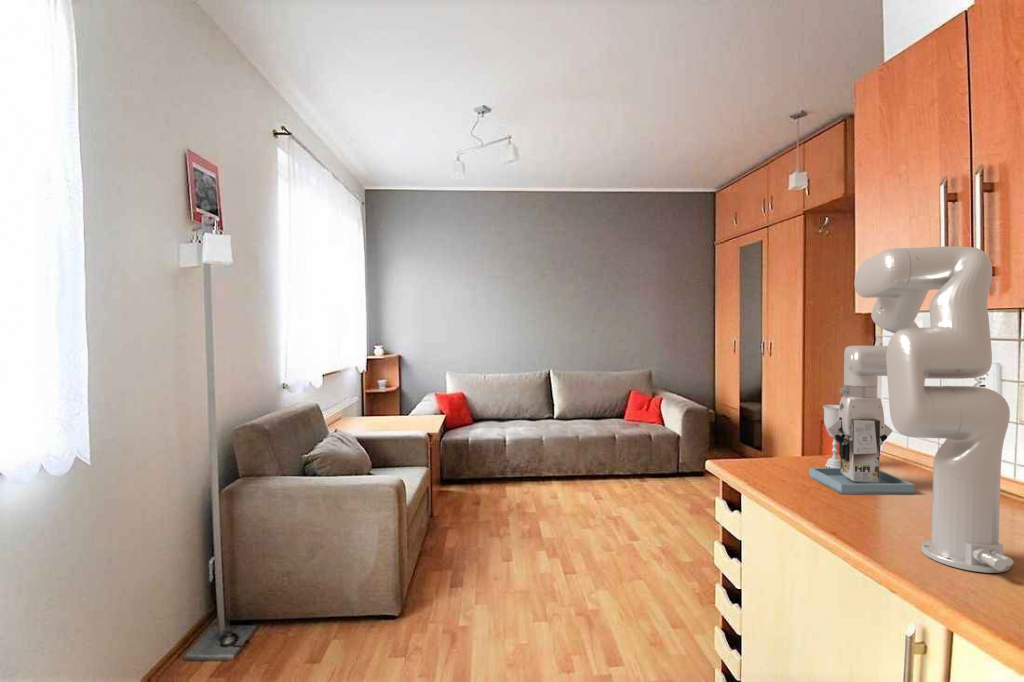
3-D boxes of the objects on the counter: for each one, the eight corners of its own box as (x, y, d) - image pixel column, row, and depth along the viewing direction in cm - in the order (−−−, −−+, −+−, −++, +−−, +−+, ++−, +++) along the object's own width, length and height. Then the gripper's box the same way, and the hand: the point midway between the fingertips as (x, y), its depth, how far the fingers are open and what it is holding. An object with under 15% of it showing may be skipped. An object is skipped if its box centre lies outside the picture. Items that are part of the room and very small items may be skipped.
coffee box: (880, 483, 142) (881, 420, 142) (852, 481, 144) (853, 419, 143) (865, 473, 151) (866, 414, 151) (839, 472, 153) (840, 414, 152)
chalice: (852, 470, 162) (853, 408, 162) (826, 469, 164) (827, 408, 163) (842, 463, 170) (842, 405, 169) (817, 462, 171) (818, 404, 170)
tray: (914, 494, 140) (914, 484, 139) (841, 494, 140) (841, 484, 140) (874, 476, 156) (874, 467, 155) (809, 476, 156) (809, 467, 156)
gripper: (834, 394, 143) (833, 463, 144) (903, 394, 143) (902, 463, 143) (819, 390, 151) (818, 456, 151) (884, 390, 150) (883, 456, 151)
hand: (859, 458), depth 147 cm, fingers closed on coffee box, 7 cm apart
